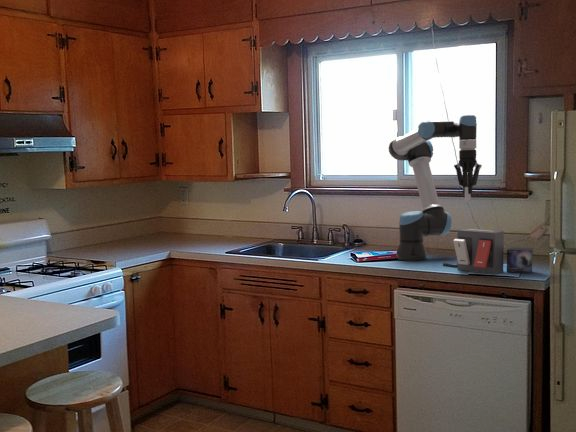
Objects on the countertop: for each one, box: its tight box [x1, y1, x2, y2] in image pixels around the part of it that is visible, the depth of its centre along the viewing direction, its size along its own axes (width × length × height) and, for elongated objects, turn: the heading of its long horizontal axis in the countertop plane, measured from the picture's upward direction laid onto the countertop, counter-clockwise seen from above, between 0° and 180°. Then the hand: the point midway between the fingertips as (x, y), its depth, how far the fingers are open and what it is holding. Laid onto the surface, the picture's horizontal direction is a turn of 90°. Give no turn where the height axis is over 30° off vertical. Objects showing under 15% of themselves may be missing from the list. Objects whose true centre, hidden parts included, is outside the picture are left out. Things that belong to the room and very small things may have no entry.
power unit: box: [442, 227, 505, 275], centre depth 293 cm, size 28×9×18 cm, turn 46°
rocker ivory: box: [453, 238, 470, 265], centre depth 288 cm, size 5×2×12 cm, turn 46°
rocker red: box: [474, 240, 492, 268], centre depth 281 cm, size 5×2×12 cm, turn 46°
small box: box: [506, 246, 533, 275], centre depth 285 cm, size 11×6×10 cm, turn 69°
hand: (467, 200), depth 300 cm, fingers closed
